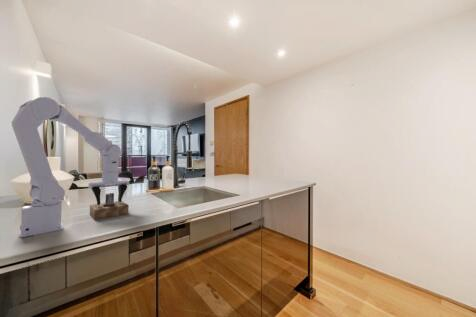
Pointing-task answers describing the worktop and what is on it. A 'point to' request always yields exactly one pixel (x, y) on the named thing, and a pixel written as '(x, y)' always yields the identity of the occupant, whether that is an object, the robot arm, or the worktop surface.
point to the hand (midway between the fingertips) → (109, 202)
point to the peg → (109, 199)
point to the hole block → (108, 210)
